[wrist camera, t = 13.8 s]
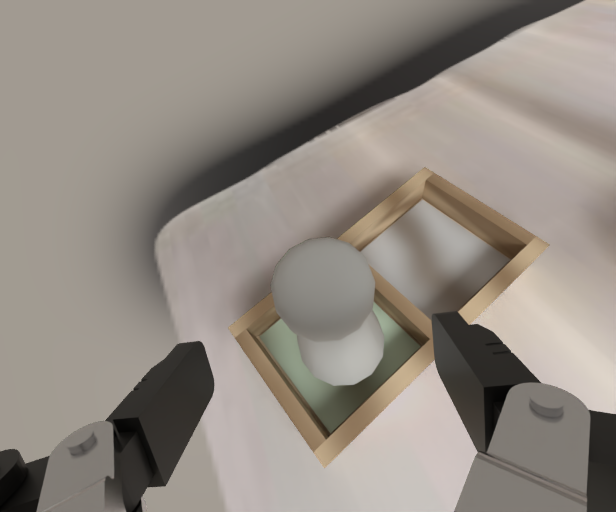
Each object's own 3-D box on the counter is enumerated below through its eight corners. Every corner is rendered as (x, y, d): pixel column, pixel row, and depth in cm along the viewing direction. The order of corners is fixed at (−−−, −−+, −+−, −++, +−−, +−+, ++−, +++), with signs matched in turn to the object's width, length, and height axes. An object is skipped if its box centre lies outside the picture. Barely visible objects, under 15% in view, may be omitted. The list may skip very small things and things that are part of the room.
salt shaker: (297, 322, 25) (237, 235, 14) (366, 301, 25) (364, 195, 13) (316, 400, 22) (259, 372, 11) (395, 377, 22) (422, 324, 10)
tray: (416, 191, 30) (422, 165, 27) (527, 266, 25) (549, 244, 22) (242, 336, 26) (225, 324, 23) (330, 462, 21) (324, 468, 18)
